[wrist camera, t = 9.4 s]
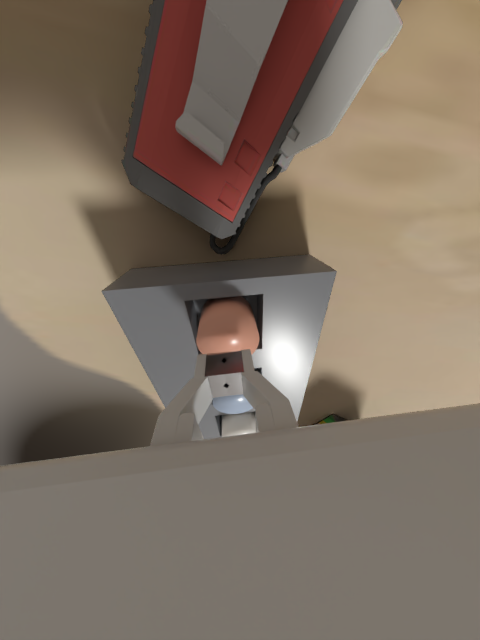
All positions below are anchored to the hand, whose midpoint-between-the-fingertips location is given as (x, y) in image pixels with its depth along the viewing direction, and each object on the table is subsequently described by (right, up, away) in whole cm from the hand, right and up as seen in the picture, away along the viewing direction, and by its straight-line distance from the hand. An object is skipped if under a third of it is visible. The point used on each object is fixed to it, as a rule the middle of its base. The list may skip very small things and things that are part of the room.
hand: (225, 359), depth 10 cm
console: (0, -2, +9) cm, 10 cm away
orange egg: (0, +3, +3) cm, 4 cm away
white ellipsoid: (+1, -9, +11) cm, 15 cm away
